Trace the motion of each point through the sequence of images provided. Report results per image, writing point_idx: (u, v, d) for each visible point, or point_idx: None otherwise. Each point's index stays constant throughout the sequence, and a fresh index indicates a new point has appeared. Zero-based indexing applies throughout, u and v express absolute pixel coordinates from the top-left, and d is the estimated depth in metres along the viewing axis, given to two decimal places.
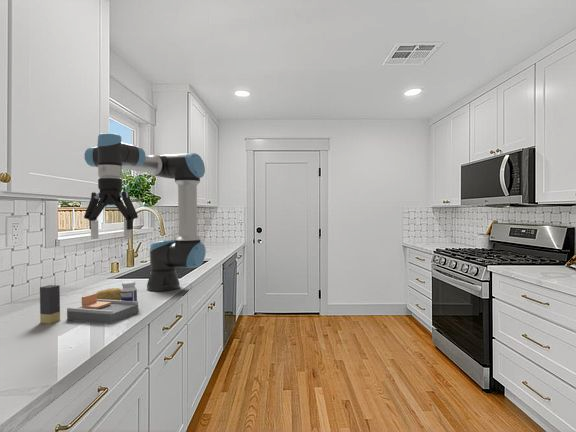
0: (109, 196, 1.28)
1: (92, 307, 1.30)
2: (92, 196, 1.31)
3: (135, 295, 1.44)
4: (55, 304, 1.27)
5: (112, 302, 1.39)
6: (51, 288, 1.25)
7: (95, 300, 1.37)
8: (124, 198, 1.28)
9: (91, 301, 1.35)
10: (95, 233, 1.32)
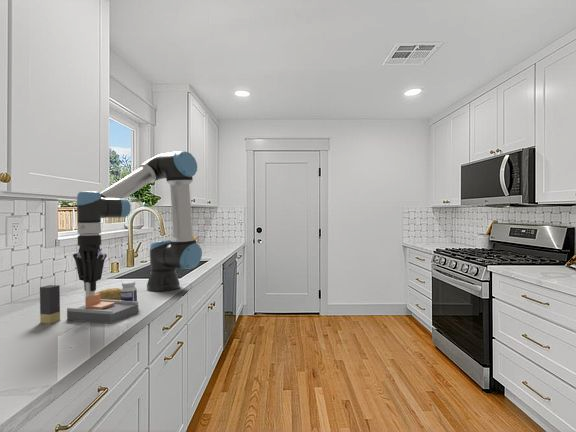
0: (88, 253, 1.32)
1: (96, 307, 1.30)
2: (75, 257, 1.35)
3: (135, 295, 1.44)
4: (55, 304, 1.27)
5: None
6: (51, 288, 1.25)
7: (99, 300, 1.37)
8: (98, 261, 1.32)
9: (95, 301, 1.35)
10: None
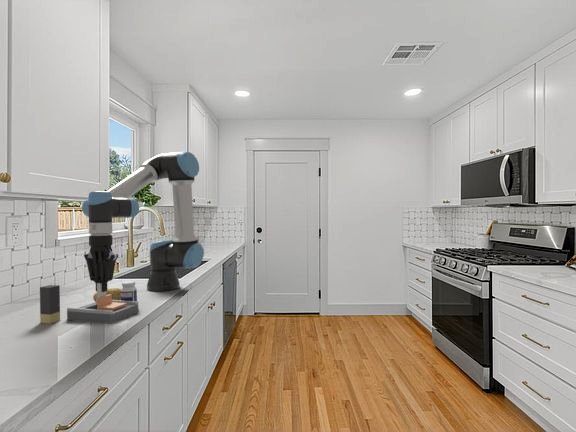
0: (99, 253, 1.31)
1: (108, 308, 1.29)
2: (86, 258, 1.34)
3: (135, 295, 1.44)
4: (55, 304, 1.27)
5: None
6: (51, 288, 1.25)
7: (110, 301, 1.35)
8: (110, 261, 1.31)
9: (106, 302, 1.33)
10: None
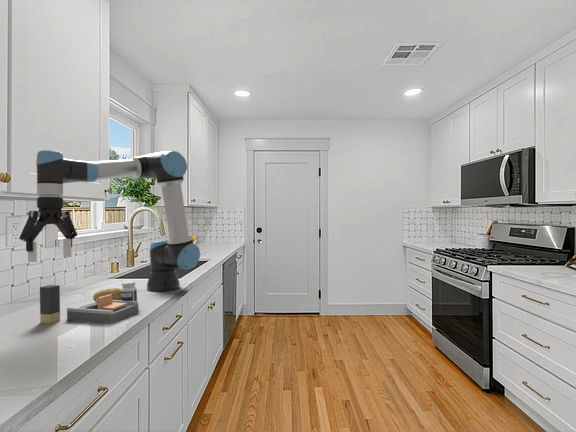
0: None
1: (108, 308, 1.29)
2: None
3: (135, 295, 1.44)
4: (55, 304, 1.27)
5: None
6: (51, 288, 1.25)
7: (110, 301, 1.35)
8: None
9: (107, 302, 1.33)
10: (66, 251, 1.33)
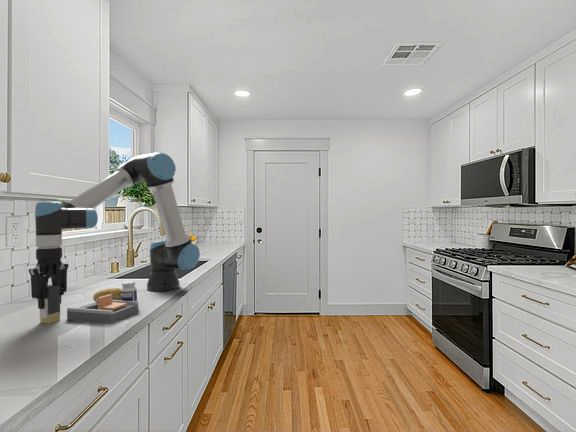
0: None
1: (108, 308, 1.29)
2: None
3: (135, 295, 1.44)
4: (55, 304, 1.27)
5: None
6: (51, 288, 1.25)
7: (110, 301, 1.35)
8: None
9: (107, 302, 1.33)
10: None
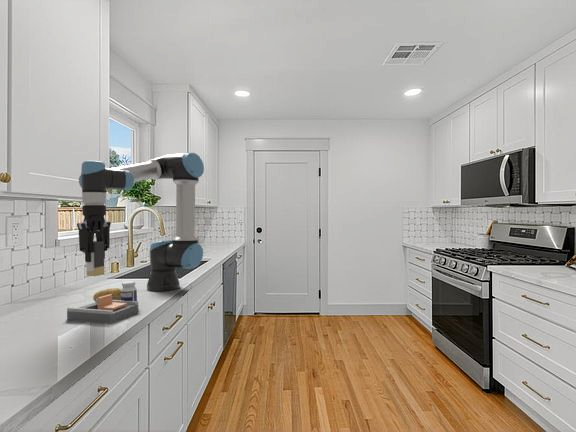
0: None
1: (108, 308, 1.29)
2: None
3: (135, 295, 1.44)
4: (100, 258, 1.34)
5: None
6: (97, 243, 1.32)
7: (110, 301, 1.35)
8: None
9: (107, 302, 1.33)
10: None
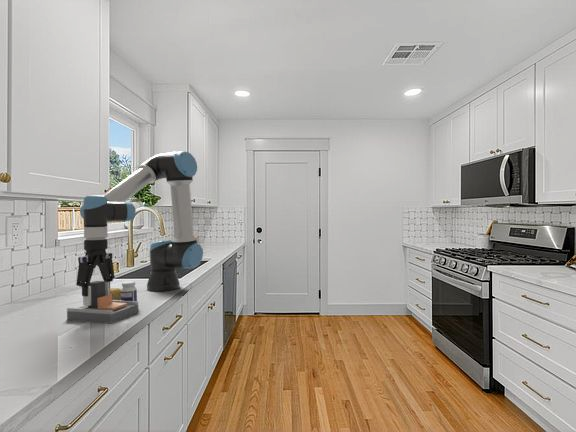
0: None
1: (108, 308, 1.29)
2: None
3: (135, 295, 1.44)
4: None
5: None
6: (98, 284, 1.32)
7: (110, 301, 1.35)
8: None
9: (107, 302, 1.33)
10: None
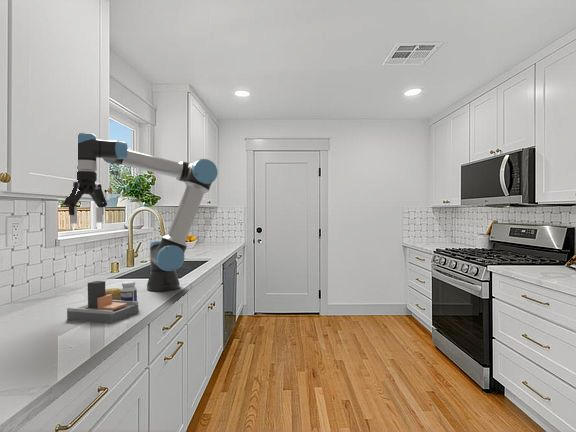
0: None
1: (108, 308, 1.29)
2: None
3: (135, 295, 1.44)
4: None
5: None
6: (98, 284, 1.32)
7: (110, 301, 1.35)
8: None
9: (107, 302, 1.33)
10: (98, 218, 1.60)
